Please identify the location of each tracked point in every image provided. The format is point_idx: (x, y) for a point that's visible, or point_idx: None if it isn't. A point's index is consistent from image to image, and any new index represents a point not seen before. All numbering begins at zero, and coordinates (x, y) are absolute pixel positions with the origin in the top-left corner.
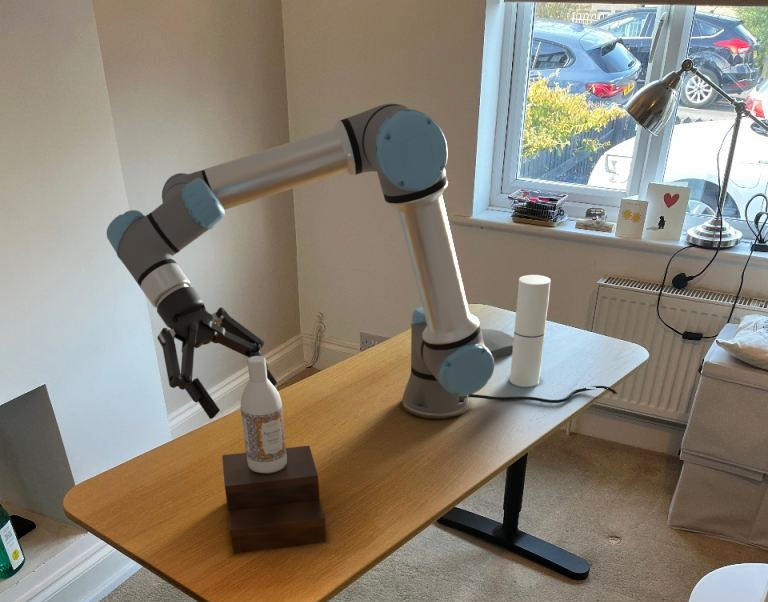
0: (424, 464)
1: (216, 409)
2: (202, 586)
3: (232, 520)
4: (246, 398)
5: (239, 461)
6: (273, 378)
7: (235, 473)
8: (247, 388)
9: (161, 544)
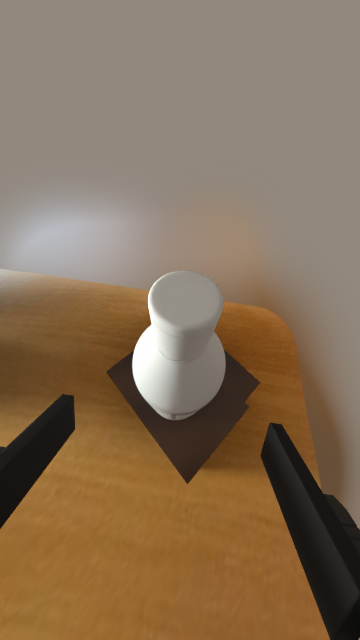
0: (42, 318)
1: (280, 428)
2: (295, 382)
3: (246, 392)
4: (223, 361)
5: (188, 436)
6: (55, 404)
7: (217, 416)
8: (213, 361)
9: None
